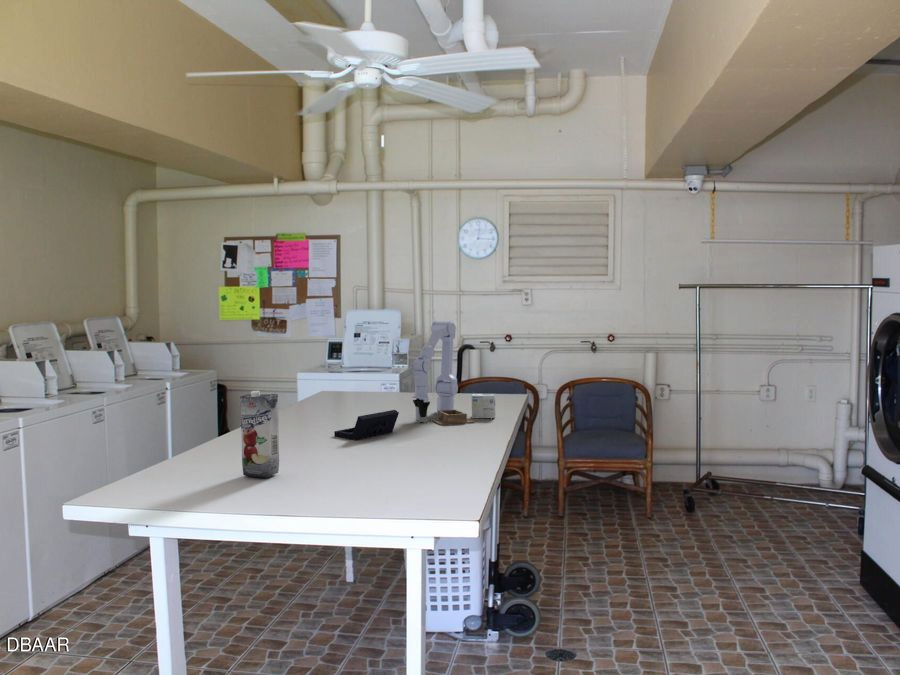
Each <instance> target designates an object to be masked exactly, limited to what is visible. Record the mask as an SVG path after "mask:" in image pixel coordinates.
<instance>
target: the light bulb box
mask: <svg viewBox="0 0 900 675" xmlns="http://www.w3.org/2000/svg"><path fill="white" fill-rule="evenodd" d="M472 418H491V419H490V420H493V419H492V418H496V393H472V395H471V419H472Z"/></svg>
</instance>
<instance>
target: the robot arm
mask: <svg viewBox="0 0 900 675" xmlns="http://www.w3.org/2000/svg"><path fill="white" fill-rule="evenodd" d="M456 327H457V326H456V325H455V323H454V321H451V320H450V321H449V320H448V321H445V320H444V321H442V320H439V321H438V320H434V321H433V322H432V324H431V327H430V330H431V334H430V336H429V339H428V341H427V343H426V345H424V346H423V347H422V348H421V351H420V353H419V354H418V356H417V358H416V359H414V360H413V361H412V365H411V369H412V373H413V376H414V394H413V395H412V398H413V399H412V402H413V405H414V407H415V408H416V406H419V410H420V416H421V417H426V413H427V414H428V409H429V406H430V404H431V401H430V400H429V399H430V398H429V392H428V391H429V390H428V389H429V386H428V385H429V384H428V377H429V376H428V372H429V370H430V368H431V365H432V359H433V357H434V356H435V355H434V354H435V347H436V346H437V344H438V343H439V341H440V340H441V343H442V344H441V345H442V346H441V347H442V348H441V367H440V375H439V376H437V377H436V380H435V384H434V391H435V393H436V394H437V399H436V411H434V413H436V414H437V415H438V411H441V410H455V396H456V395H457V393H458V392H459V386H458V378H457V377H455V376H454V375H453V363H454V362H453V360H454V359H453V358H454V356H453V355H454V340H455V338H456Z"/></svg>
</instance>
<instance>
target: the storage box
mask: <svg viewBox="0 0 900 675" xmlns="http://www.w3.org/2000/svg"><path fill="white" fill-rule="evenodd" d="M399 414H400V412H399V411H397V410H396V409H391V410H386V411H381V412H380V411H379V412H374V413H370V414H364V415H363V414H362V415H359V416H357V418H356V421H355V425H354V427H350V428H349V427H348V428H345V429H341V430H340V429H339V430H336V431H335V430H334V437H335V438H341V439H346V440H348V441H349V440H350V441H353V440H354V441H360V440H364V439H369V438H373V437H377V436H382V435H386V434H391V433H393V432H394V429H395V426H396V423H397V420H398V417H399Z"/></svg>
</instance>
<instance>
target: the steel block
mask: <svg viewBox="0 0 900 675" xmlns="http://www.w3.org/2000/svg"><path fill="white" fill-rule="evenodd" d="M416 421H417V422H427V423H428V412H427V413H426V417H421V416H420V410H419V406H416V407H415V422H416ZM417 422H416V423H417Z"/></svg>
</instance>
